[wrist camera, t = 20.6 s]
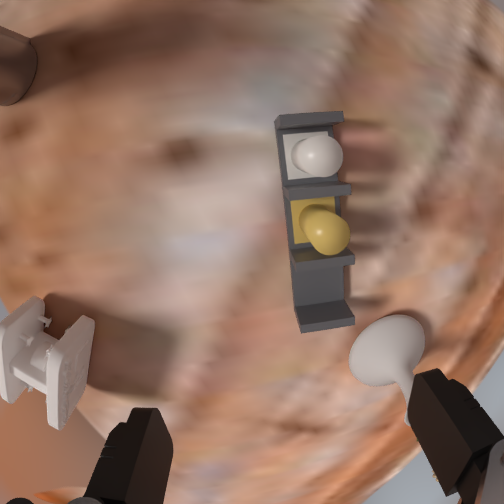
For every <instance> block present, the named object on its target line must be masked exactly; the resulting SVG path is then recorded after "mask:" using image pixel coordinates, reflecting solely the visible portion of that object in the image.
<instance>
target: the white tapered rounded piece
mask: <svg viewBox="0 0 504 504" xmlns="http://www.w3.org/2000/svg"><path fill="white" fill-rule="evenodd" d="M424 348H425V335H424V331H423V328H422V326H421V325H420V323H419V322H418V321H417V320H416V319H414V318H413V317H410V316H407V315H391V316H387V317H383V318H381V319H379V320H377V321H375V322H373V323H372V324H370V325H369V326H368V327H366V328H365V329H364V330H363V331H362V332H361V333H360V335H359V336H358V337H357V339H356V340H355V342H354V344H353V346H352V348H351V351H350V354H349V368H350V371H351V373H352V374H353V376H354V377H355V378H356V379H358V380H359V381H361V382H362V383H364V384H366V385H370V386H385V385H390V384H393V383H397V384H398V385H399V387H400V388H401V390H402V392H403V394H404V397H405V400H406V404H407V408H408V403H409V399H410V394H411V390H412V385H413V380H414V377H415V375H414V374H413V372H412V371H413V369H414V368H415V367H416V366H417V364H418V362H419V361H420V359H421V357H422V354H423V352H424ZM404 419H405V423H406V424H407V425H408V426H410V424H409V421H408V415H407V410H406V413H405V418H404ZM417 441H418V439H417ZM432 472H433V473H434V471H432ZM433 477H434V478H436V481H437V482H439V481H438V479H437V477H436V475H435V473H434V474H433Z"/></svg>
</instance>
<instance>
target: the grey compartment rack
mask: <svg viewBox="0 0 504 504" xmlns="http://www.w3.org/2000/svg"><path fill="white" fill-rule="evenodd" d="M341 122H344V116H343V111H334V112H314V113H299V114H286V115H279V116H278V117H277V119H276V120H275V121H274V123H275V131H276V139H277V147H278V155H279V163H280V171H281V180H282V189H283V198H284V207H285V216H286V226H287V236H288V246H289V256H290V267H291V278H292V289H293V301H294V311H295V315H296V318H297V322H298V325H299V328H300V332H301V333H307V332H314V331H320V330H327V329H333V328H339V327H345V326H351V325H355V316H354V315H353V313H352V311H351V310H350V308H349V307H348V305H347V303H346V302H345V300H344V276H343V266H347V265H354V264H355V255H354V254H353V253H352V252H351V251H350V250H349V249H348V248H347V247H345V249H344V250H342V251H341V252H340V253H338V254H335V255H324V254H322V253H320V252H318V251H317V250H316V249H315V248H314V246H313V245H312V244H311V242H310V241H309V239H308V238H307V237H306V235H305V234H304V233H303V231H302V230H301V228H300V226H299V215H300V213H301V211H302V210H303V209H304V208H305V207H306V206H308V205H310V204H320V205H322V206H324V207H326V208H327V209H329V210H330V211H332V212H333V213H335V214H336V215H338V216H339V217H341V213H340V199H339V196H343V195H351V184H348V183H345V182H341V181H338V175H337V172H336V173H335V174H333V175H331V176H328V177H318V176H314V175H311V174H308V173H305V172H302V171H299V170H298V169H297V168H296V167H295V166H294V165H293V163H292V161H291V150H292V148H293V146H294V145H295V144H296V143H297V142H298V141H300V140H303V139H306V138H310V137H314V136H318V135H326V136H329V137H331V138H333V139H334V137H333V129H332V125H335V124H338V123H341Z"/></svg>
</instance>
